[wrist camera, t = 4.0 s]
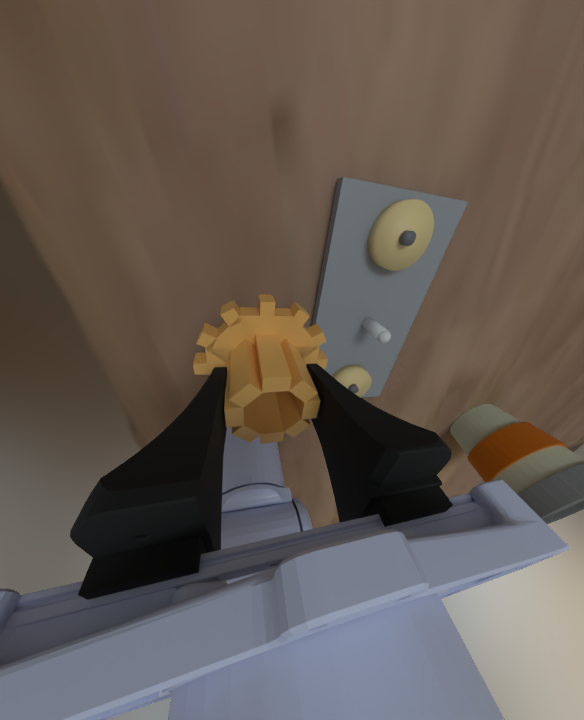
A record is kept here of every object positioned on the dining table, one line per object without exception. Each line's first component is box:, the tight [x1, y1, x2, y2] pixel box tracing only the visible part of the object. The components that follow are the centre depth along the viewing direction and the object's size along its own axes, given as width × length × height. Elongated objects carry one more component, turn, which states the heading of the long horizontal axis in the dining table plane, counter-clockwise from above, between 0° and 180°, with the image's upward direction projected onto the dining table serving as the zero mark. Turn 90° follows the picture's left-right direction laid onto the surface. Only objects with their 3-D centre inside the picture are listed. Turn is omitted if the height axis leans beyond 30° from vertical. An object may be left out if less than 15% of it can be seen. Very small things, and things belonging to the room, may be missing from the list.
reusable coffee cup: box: [450, 404, 584, 524], centre depth 34 cm, size 13×13×15 cm
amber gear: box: [193, 294, 328, 444], centre depth 12 cm, size 8×8×5 cm
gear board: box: [312, 177, 468, 397], centre depth 20 cm, size 21×11×5 cm, turn 173°
